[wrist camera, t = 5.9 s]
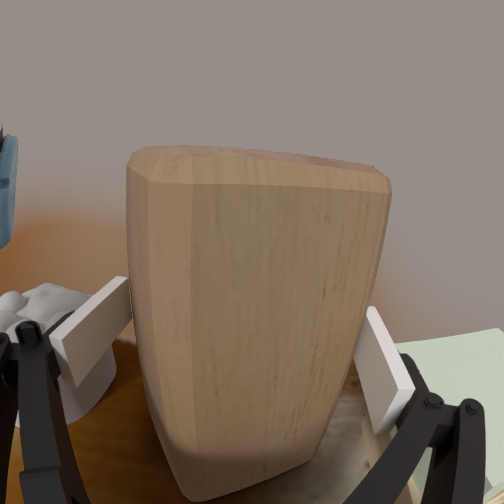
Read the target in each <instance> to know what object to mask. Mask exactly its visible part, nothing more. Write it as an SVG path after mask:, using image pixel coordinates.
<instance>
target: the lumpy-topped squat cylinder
mask: <svg viewBox="0 0 504 504" xmlns="http://www.w3.org/2000/svg"><path fill="white" fill-rule="evenodd" d="M92 296H93V295H91V294H86V293H82V292H80V291H78V290H70V289H67V288H65V287H62V286H58V285H55V284H53V283H44V284H41V285H40V286H38V287H37V288H33V289H31V290H29V291H27V292H25V293H23V294H20V293H19V292H17V291H10V292H7V293H5V294H3V295H2V296H1V297H0V332H4V333H7V334H8V335H9V337H10V340H11V342H14V343H19V342H18V339H17V336H16V333H15V328H16V326H17V325H18V324H20V323H21V322H24V321H29V320H33V321H36V322H38V323H39V326H40V329H41V333H42V334H43V333H45V332H46V331H47V330H48V329H49V328H50V327H51V326H52V325H53V324H55V323H56V322H57V321H58V320H60V318H61V317H63V316H64V315H65V314H67V313H69V312H71V311H73V310H74V311H76V310H77V309H79V308H80V307H81V306H82V305H83V304H84V303H85V302H87V301H88V300H89V299H90V298H91V297H92ZM115 374H116V363H115V358H114V354H113V349H112V344H111V345H110V346H109V347H108V349H107V350H106V351H105V352H104V354H103V355H102V356H101V357H100V359H99V360H98V361H97V363H96V364H95V365H94V366H93V368H92V369H91V370H90V371H89V373H88V374H87V375H86V377H85V378H84V379H83V381H82V382H81V383H80V384H79V386H78V387H77V388H76V387H74V386H71V385H69V384H66V383H64V380H63V377H62V375H61V374H60V376H59V377H58V378H57V380H58V382H59V386H60V393H61V399H62V404H63V410H64V415H65V419H66V424H67V425H68V424H70V423H72V422H75V421H77V420H79V419H80V418H82V417H84V416H85V415H86V414H87V413H88V412H89V411H90V410H91V409H92V408H93V407H94V406H95V405H96V403H97V402H98V401H99V400H100V398H101V397H102V396H103V395H104V393H105V392H106V390H107V389H108V387H109V385H110V384H111V382H112V381H113V379H114V377H115ZM15 425H16V426H17V427H19V428H20V425H19V410H18V414H17V419H16V423H15Z"/></svg>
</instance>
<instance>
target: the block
mask: <svg viewBox="0 0 504 504" xmlns="http://www.w3.org/2000/svg"><path fill="white" fill-rule="evenodd" d="M391 197H392V189H391V183H390V179H389V178H388V177H386V176H385V175H384V174H383V173H381V172H380V171H379V170H377V169H376V168H375V167H373V166H369V165H364V164H359V163H353V162H347V161H341V160H334V159H327V158H321V157H314V156H307V155H299V154H291V153H283V152H273V151H264V150H253V149H241V148H226V147H210V146H187V145H186V146H185V145H183V146H182V145H181V146H152V147H144V148H142V149H139V150H137V151H135V152H133V153H132V155H131V157H130V159H129V162H128V164H127V173H126V224H127V250H128V267H129V281H130V291H131V302H132V311H133V319H134V328H135V336H136V343H137V349H138V356H139V362H140V368H141V374H142V379H143V384H144V390H145V395H146V399H147V404H148V409H149V412H150V415H151V418H152V421H153V424H154V427H155V430H156V432H157V435H158V438H159V440H160V443H161V446H162V448H163V451H164V453H165V456H166V458H167V461H168V463H169V465H170V468H171V470H172V472H173V475H174V477H175V479H176V481H177V484H178V486H179V488H180V490H181V492H182V494H183V495H184V496H185V497H187V498H188V499H189V500H190V501H192V502H203V501H207V500H210V499H214V498H217V497H220V496H223V495H226V494H229V493H232V492H235V491H238V490H241V489H244V488H247V487H249V486H252V485H255V484H257V483H260V482H262V481H265V480H267V479H270V478H272V477H274V476H277V475H279V474H281V473H284V472H286V471H288V470H290V469H292V468H295V467H297V466H299V465H301V464H303V463H305V462H307V461H309V460H310V459H311V458H312V457H313V456H314V454H315V453H316V451H317V449H318V446H319V444H320V442H321V440H322V437H323V435H324V433H325V430H326V428H327V426H328V423H329V421H330V418H331V416H332V414H333V411H334V409H335V406H336V403H337V401H338V398H339V396H340V393H341V390H342V388H343V385H344V382H345V379H346V376H347V374H348V371H349V368H350V365H351V362H352V359H353V356H354V353H355V350H356V347H357V343H358V340H359V337H360V334H361V330H362V327H363V324H364V320H365V317H366V313H367V309H368V306H369V302H370V298H371V294H372V290H373V286H374V282H375V278H376V273H377V270H378V265H379V261H380V256H381V252H382V247H383V242H384V237H385V232H386V227H387V221H388V215H389V209H390V203H391Z"/></svg>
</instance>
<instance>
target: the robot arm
mask: <svg viewBox="0 0 504 504" xmlns="http://www.w3.org/2000/svg"><path fill="white" fill-rule="evenodd" d="M17 161H18V140H17V138H16V137H15V136H11V135H9V134H8V135H6V136H5V137H3V129H2V117H1V116H0V249H2V248H4V247H5V246H6V245H7V244H8V243H9V242H10V239H11V237H12V231H13V222H14V207H15V191H16V176H17V175H16V174H17ZM131 319H132V312H131V303H130V294H129V282H128V277H122V276H116V277H115V278H114V279H112V280H111V281H110V282H109V283H108V284H106V285H105V286H104V287H103V288H102V289H101V290H99V291H98V292H97V293H96V294H95V295H93V296H92V297H91V298H90V299H89V300H88V301H87V302H85V303H84V304H83V305H82V306H81V307H80V308H79V309H77V310H76V311H74V310H73V311H71V312H69V313H67V314H65V315H64V316H63V317H61V318H60V320H58V321H57V322H56V323H55V324H53V325H52V326H51V327H50V328H49V329H48V330H47V331H46V332H45V333H43V334H42V333H41V329H40V326H39V323H38V322H36V321H33V320H29V321H24V322H21V323H20V324H18V325H17V326H16V328H15V333H16V336H17V339H18V342H19V343H14V342H11V340H10V337H9V335H8V334H7V333H4V332H0V504H5V500H6V487H7V476H8V467H9V459H10V452H11V445H12V439H13V434H14V428H15V423H16V419H17V414H18V410H19V425H20V437H21V446H22V454H23V462H24V471H23V472H20V474H19V477H20V485H21V490H22V495H23V500H24V504H91V503H90V501H89V499H88V496H87V493H86V491H85V488H84V485H83V482H82V479H81V476H80V473H79V470H78V466H77V463H76V460H75V456H74V452H73V449H72V445H71V441H70V437H69V433H68V429H67V424H66V419H65V415H64V410H63V404H62V399H61V393H60V386H59V382H58V380H57V378H58V377H59V376H60V374H61V375H62V377H63V380H64V383H66V384H69V385H71V386H74V387H76V388H77V387H78V386H79V384H80V383H81V382H82V381H83V379H84V378H85V377H86V375H87V374H88V373H89V371H90V370H91V369H92V368H93V366H94V365H95V364H96V363H97V361H98V360H99V359H100V357H101V356H102V355H103V354H104V352H105V351H106V350H107V349H108V347H109V346H110V345H111V344H112V342H113V341H114V340H115V339H116V338H117V336H118V335H119V334H120V333H121V331H122V330H123V329H124V328H125V327H126V325H127V324H128V323H129V321H130V320H131ZM353 358H354V361H355V364H356V368H357V371H358V375H359V378H360V382H361V385H362V389H363V393H364V396H365V400H366V404H367V408H368V411H369V415H370V419H371V423H372V427H373V431H374V434H382V433H390V432H391V431H392V429H393V427H394V426H395V425H396V428H397V433H396V434H395V436H394V438H393V439H392V441H391V442H390V443H389V445H388V446H387V448H386V449H385V451H384V452H383V454H382V455H381V456H380V458H379V459H378V461H377V462H376V463H375V465H374V466H373V467H372V469H371V470H370V471H369V472H368V474H367V475H366V476H365V478H364V479H363V480H362V481H361V483H360V484H359V485H358V486H357V488H356V489H355V490H354V491H353V492H352V493H351V495H350V496H349V497H348V498H347V499H346V500H345V502H344V503H343V504H394V503H395V501H396V500H397V498H398V497H399V495H400V493H401V492H402V490H403V489H404V487H405V485H406V484H407V482H408V480H409V479H410V477H411V475H412V474H413V472H414V470H415V468H416V467H417V465H418V463H419V461H420V459H421V457H422V455H423V454H424V452H425V450H426V448H427V447H430V448H432V453H431V459H430V464H429V469H428V474H427V479H426V483H425V488H424V492H423V496H422V500H421V503H420V504H483V498H484V487H485V469H486V430H485V412H484V408H483V406H482V405H481V403H480V402H478V401H477V400H475V399H472V398H467V399H464V400H463V401H462V402H461V403H460V405H459V406H454V405H447V404H445V403H444V400H443V399H442V398H441V397H440V396H439V395H437V394H436V393H433V392H430V391H429V389H428V387H427V385H426V383H425V381H424V379H423V377H422V375H421V374H420V371H419V369H418V368H417V365H416V364H415V362H414V360H413V359H412V358H411V357H410V356H409V355H408V354H407V353H398V351H397V349H396V347H395V345H394V343H393V341H392V339H391V337H390V335H389V333H388V331H387V329H386V327H385V325H384V323H383V322H382V320H381V318H380V316H379V314H378V312H377V310H376V308H375V307H372V306H368V309H367V313H366V317H365V320H364V324H363V327H362V330H361V334H360V337H359V340H358V343H357V347H356V350H355V353H354V356H353Z"/></svg>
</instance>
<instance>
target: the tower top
mask: <svg viewBox="0 0 504 504" xmlns="http://www.w3.org/2000/svg"><path fill="white" fill-rule="evenodd" d="M394 345H395V347H396V349H397V351H398V353H407V354H408V355H409V356H410V357H411V358H412V359H413V360H414V362H415V364H416V365H417V368H418V369H419V371H420V374H421V375H422V377H423V379H424V381H425V383H426V385H427V387H428V389H429V391H430V392H433V393H436V394H437V395H439V396H440V397H441V398H442V399H443V400H444V403H445V404H447V405H454V406H459V405H460V403H461V402H462V401H463V400H464V399H467V398H472V399H475V400H477V401H478V402H480V403H481V405H482V406H483V408H484V412H485V430H486V469H485V487H484V498H483V504H484V503H485V502H487V501H488V500H490V499H491V498H493V497H494V496H495V495H497V494H498V493H500V492H501V491H502V490H504V333H503V332H502V331H501V330H500V329H498V328H494V329H489V330H484V331H479V332H473V333H468V334H462V335H457V336H450V337H444V338H437V339H430V340H423V341H415V342H407V343H399V344H394ZM396 433H397V428H396V425H395V426H394V427H393V429H392V431H391V432H390V435H391V437H392V439H393V438H394V436H395V434H396ZM431 453H432V448H430V447H427V448H426V450H425V452H424V454H423V455H422V457H421V459H420V461H419V463H418V465H417V467H416V468H415V470H414V472H413V474H412V475H411V477H412V479H413V481H414V483H415V485H416V487H417V489H418V491H419V493H420V495H421V497H422V496H423V492H424V488H425V483H426V479H427V474H428V469H429V464H430V459H431Z"/></svg>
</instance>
